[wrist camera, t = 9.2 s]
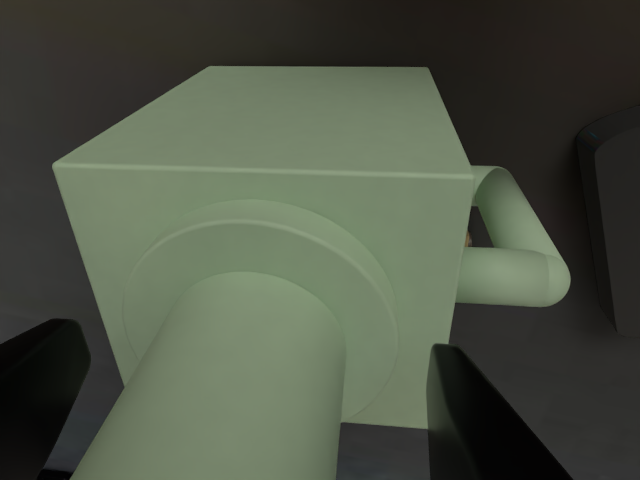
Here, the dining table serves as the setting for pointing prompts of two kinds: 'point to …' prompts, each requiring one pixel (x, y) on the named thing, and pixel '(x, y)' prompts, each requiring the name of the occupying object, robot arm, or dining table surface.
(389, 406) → the jug
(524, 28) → the dining table surface
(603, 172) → the smart home device
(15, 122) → the dining table surface
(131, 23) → the dining table surface
